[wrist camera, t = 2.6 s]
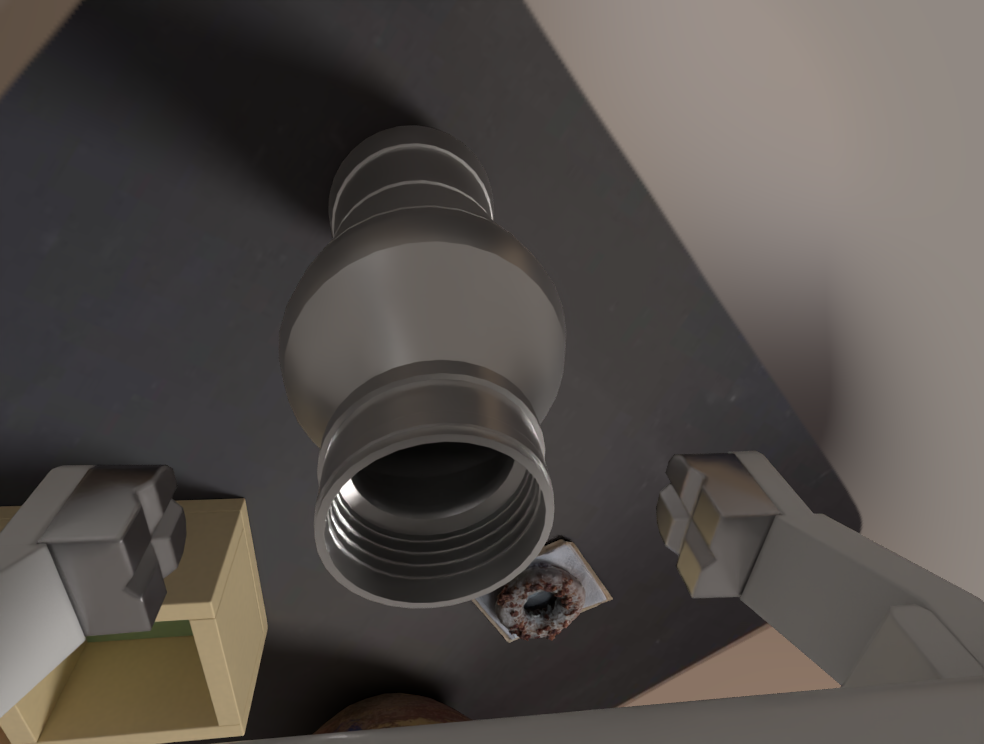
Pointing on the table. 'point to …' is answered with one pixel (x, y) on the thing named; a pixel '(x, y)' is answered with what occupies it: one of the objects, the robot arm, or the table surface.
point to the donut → (544, 595)
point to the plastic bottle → (424, 377)
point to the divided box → (163, 652)
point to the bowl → (391, 713)
